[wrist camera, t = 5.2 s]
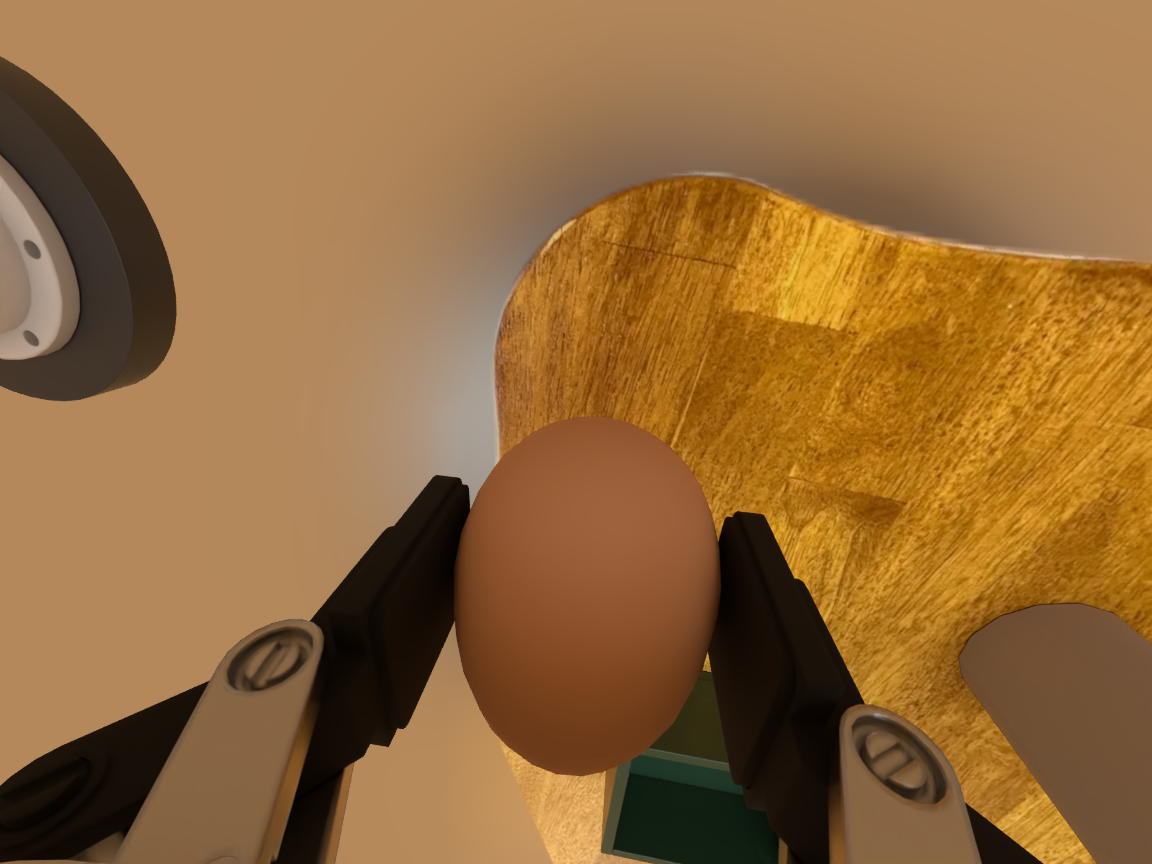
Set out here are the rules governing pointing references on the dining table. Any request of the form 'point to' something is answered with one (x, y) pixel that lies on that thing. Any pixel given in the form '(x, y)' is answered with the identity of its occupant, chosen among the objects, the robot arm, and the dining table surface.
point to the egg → (586, 593)
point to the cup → (1075, 717)
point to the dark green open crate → (685, 797)
